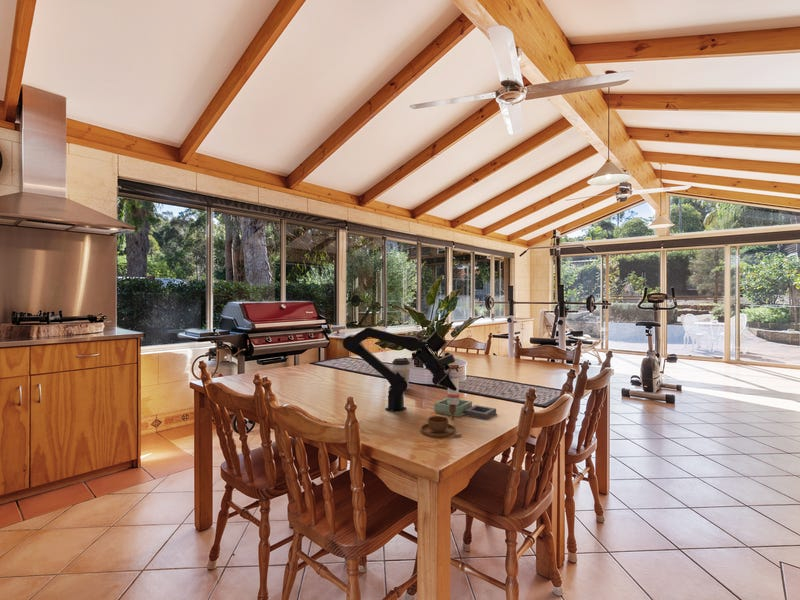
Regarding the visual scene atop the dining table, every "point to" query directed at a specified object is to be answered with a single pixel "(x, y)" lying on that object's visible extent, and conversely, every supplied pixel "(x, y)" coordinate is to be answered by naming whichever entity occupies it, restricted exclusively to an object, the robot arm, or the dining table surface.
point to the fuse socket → (480, 412)
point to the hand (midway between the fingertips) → (456, 388)
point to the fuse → (453, 395)
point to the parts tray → (444, 408)
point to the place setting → (440, 425)
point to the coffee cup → (402, 367)
